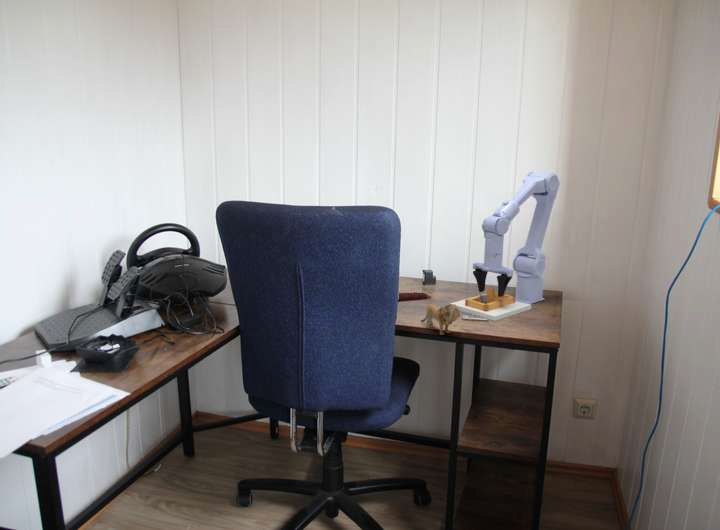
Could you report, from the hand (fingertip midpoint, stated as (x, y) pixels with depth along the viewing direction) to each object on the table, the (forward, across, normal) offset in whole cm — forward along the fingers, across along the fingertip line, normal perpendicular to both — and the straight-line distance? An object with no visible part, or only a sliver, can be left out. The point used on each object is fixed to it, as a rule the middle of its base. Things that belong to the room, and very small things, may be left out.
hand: (491, 293), depth 176 cm
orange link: (+3, 0, 0) cm, 3 cm away
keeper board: (+5, 0, 0) cm, 5 cm away
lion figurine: (+5, +4, -29) cm, 30 cm away
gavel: (+6, -25, -15) cm, 30 cm away
